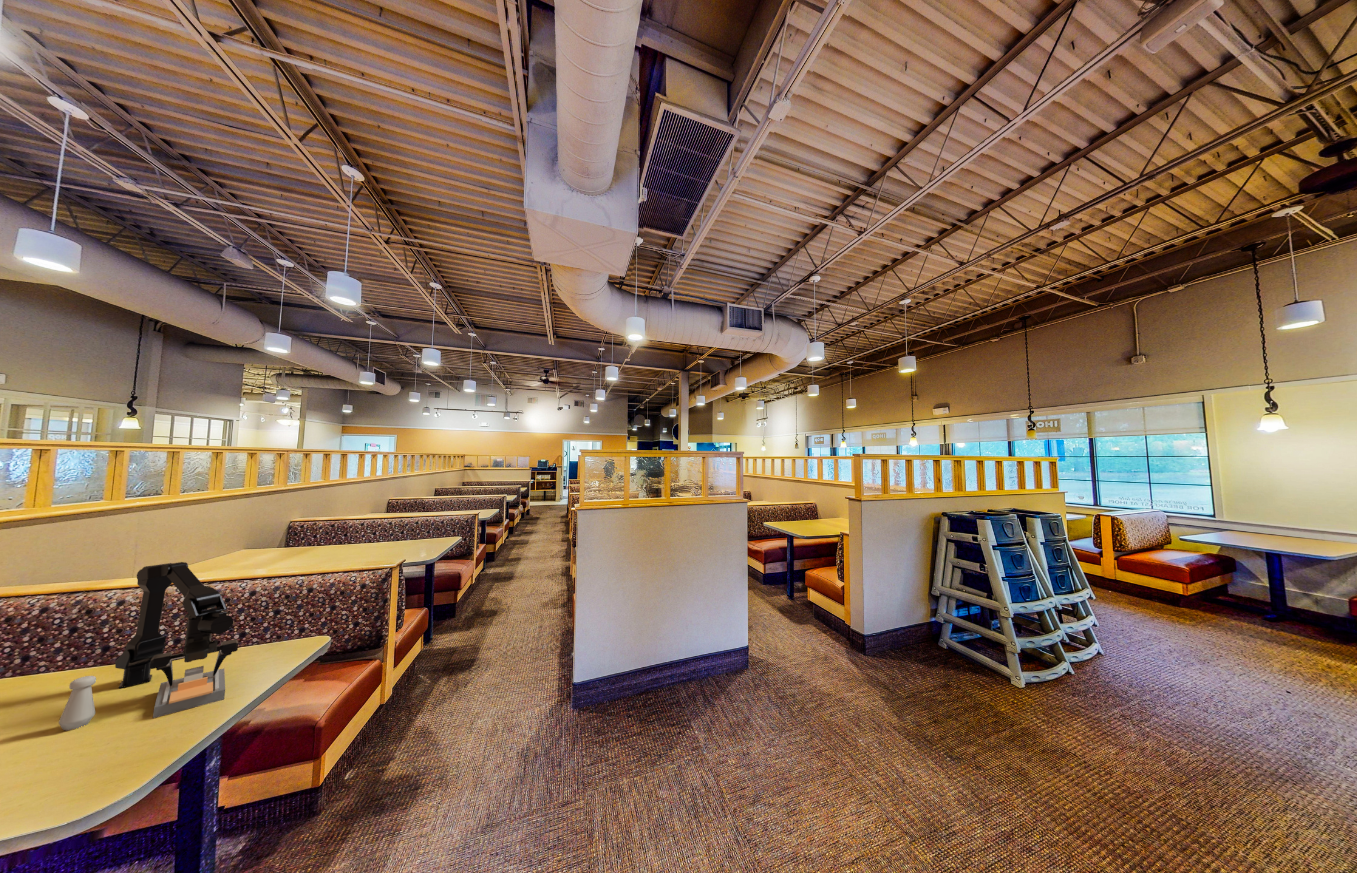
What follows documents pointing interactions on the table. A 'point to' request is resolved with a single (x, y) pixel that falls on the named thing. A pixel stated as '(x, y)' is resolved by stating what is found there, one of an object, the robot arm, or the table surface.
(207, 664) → the table surface
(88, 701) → the salt shaker
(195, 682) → the shutter
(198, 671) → the plug
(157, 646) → the robot arm
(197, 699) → the socket block
